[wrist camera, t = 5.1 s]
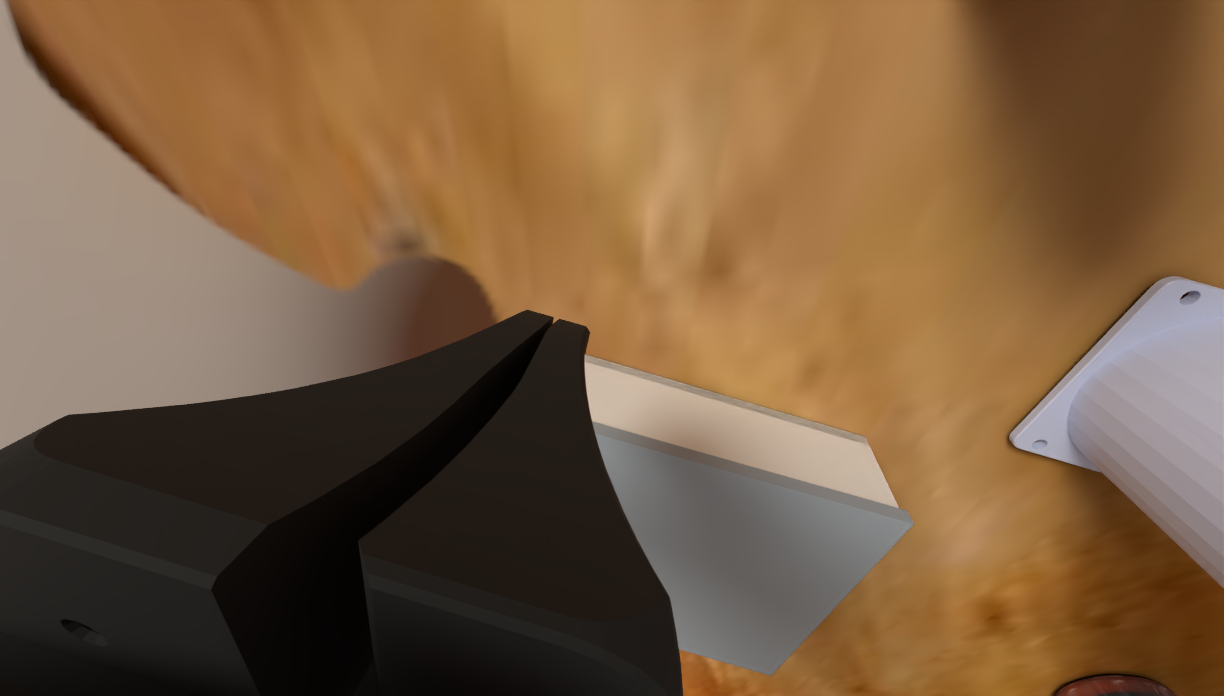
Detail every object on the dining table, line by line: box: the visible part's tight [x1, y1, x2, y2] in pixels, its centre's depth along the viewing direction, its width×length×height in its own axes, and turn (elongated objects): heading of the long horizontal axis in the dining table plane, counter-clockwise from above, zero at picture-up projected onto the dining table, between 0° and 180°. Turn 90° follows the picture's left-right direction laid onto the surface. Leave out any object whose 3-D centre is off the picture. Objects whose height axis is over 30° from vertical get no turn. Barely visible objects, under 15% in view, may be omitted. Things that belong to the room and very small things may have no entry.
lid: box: [592, 421, 914, 676], centre depth 20 cm, size 16×13×1 cm
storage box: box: [585, 354, 899, 508], centre depth 22 cm, size 16×12×4 cm
